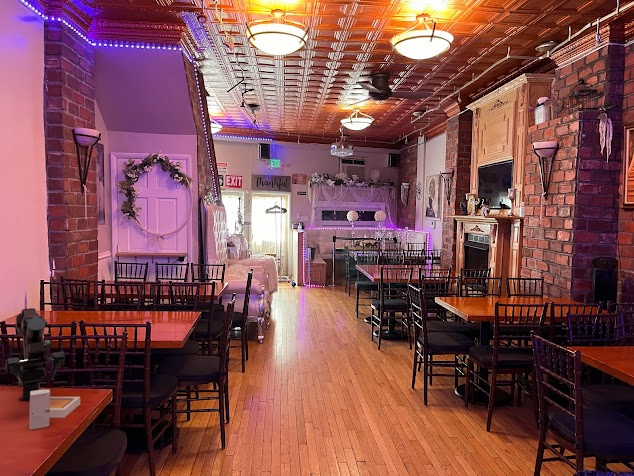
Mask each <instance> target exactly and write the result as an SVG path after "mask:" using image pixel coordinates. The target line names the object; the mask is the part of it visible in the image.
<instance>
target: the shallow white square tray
mask: <svg viewBox="0 0 634 476" xmlns="http://www.w3.org/2000/svg"><path fill="white" fill-rule="evenodd" d="M50 400H71V402H70V403H69V404H67V405H66V406H65V407H64V408H50V417H49V419H50V418H55V419H57V418H58V419H60V418H61V419H63V418H65V419H66V417H67V416H69V414H71V413H72V412H73V411H74V410H75V409H77V408H78V407H79V406H80V405H81V397H80V396H50Z"/></svg>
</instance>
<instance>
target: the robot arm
mask: <svg viewBox="0 0 634 476" xmlns="http://www.w3.org/2000/svg"><path fill="white" fill-rule="evenodd" d="M36 311H37V310H36V308H34V307H33V308H30V307H29V308H23V309H21V312H20V313H19V314H17V315H16V317H15V329H16V330H17V334H18V335H19V336H20V337H22V344H23V355H24V356H23V357H24V360H22V359H21V360H20V356H17V357H15V356H14V357H8V358H7V359H5V373H9V374H11V375H14V376H15V378H17V379H18V385H19V386H20V387H21V386H22V396H21V397H20V398H18V401H30V391H36V390H41V387H40V384H41V383H45V381H46V377H47V376H46V374H47V370H46V369H45V367H44V366H43V364H46V363H51V371H50V372H51V376H50V379H51V381H54V377H55V374H56V371H57V369H58V368H61V366H63V365H65V360H66V353H65V352H64V351H57V352H55V351H54V352H52V356H46V353H47V352H46V351H47V350H50V349H51V345H52V344H51V340H50V339H46V340H44V335H45V334H44V333H45V328H46V327H47V326H48V321H46V320H45V317H44V318H43V316H42V315H39V313H37V312H36Z"/></svg>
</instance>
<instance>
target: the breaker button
mask: <svg viewBox="0 0 634 476" xmlns="http://www.w3.org/2000/svg"><path fill="white" fill-rule="evenodd" d="M70 402H71V400H50V408H64V407H65V406H66V405H67V404H69V403H70Z"/></svg>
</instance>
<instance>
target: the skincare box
mask: <svg viewBox="0 0 634 476" xmlns="http://www.w3.org/2000/svg"><path fill="white" fill-rule="evenodd" d="M50 397H51V390H50V388H47V389H40V390H36V391H30V400H29V422H28V423H29V425H28V426H29V430H37V429H43V428H48V427H50V418H49V417H50Z"/></svg>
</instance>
